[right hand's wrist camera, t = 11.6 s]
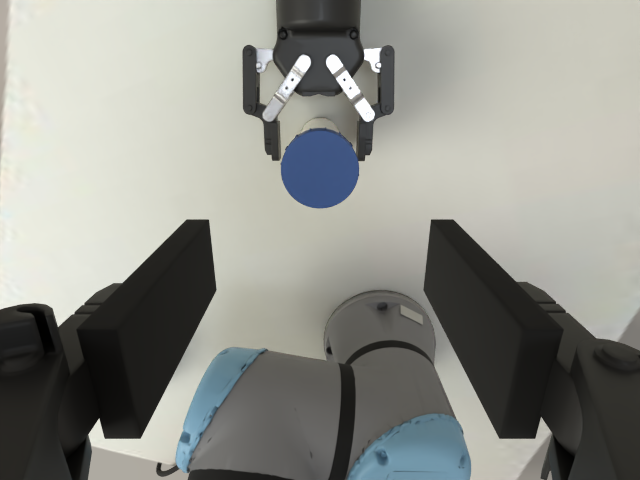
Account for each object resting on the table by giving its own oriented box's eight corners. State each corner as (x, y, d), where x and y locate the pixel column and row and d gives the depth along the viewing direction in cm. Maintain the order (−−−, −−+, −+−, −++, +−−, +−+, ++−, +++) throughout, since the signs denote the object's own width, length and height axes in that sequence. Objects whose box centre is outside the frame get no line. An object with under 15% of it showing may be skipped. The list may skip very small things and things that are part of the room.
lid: (303, 212, 31) (302, 221, 29) (269, 147, 29) (266, 152, 27) (368, 182, 30) (371, 189, 28) (338, 113, 29) (339, 115, 27)
